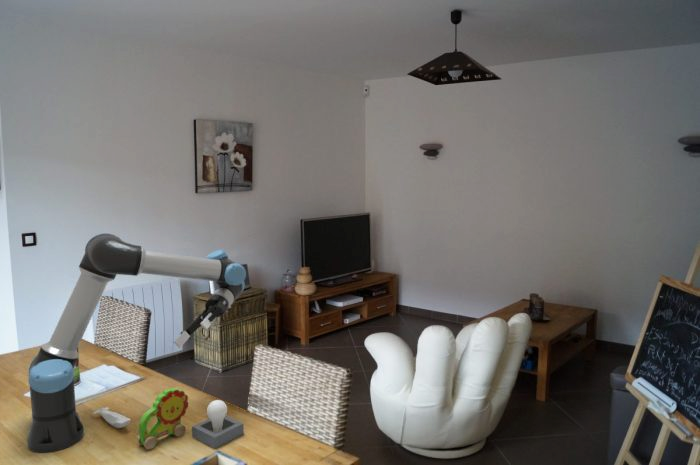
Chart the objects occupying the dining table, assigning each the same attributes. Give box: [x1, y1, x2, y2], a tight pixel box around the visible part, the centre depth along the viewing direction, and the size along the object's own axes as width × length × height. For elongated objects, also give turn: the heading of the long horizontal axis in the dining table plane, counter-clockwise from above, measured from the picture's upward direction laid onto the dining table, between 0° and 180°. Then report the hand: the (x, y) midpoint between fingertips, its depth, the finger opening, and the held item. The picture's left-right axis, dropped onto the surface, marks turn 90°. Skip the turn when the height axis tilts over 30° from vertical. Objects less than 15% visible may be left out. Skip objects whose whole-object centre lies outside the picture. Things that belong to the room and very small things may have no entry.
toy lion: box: [136, 387, 189, 450], centre depth 163 cm, size 16×5×15 cm, turn 141°
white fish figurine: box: [92, 407, 132, 429], centre depth 174 cm, size 6×18×4 cm, turn 50°
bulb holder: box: [191, 415, 245, 450], centre depth 166 cm, size 11×11×4 cm
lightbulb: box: [206, 399, 228, 434], centre depth 165 cm, size 6×6×11 cm
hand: (190, 335), depth 174 cm, fingers open, 13 cm apart
